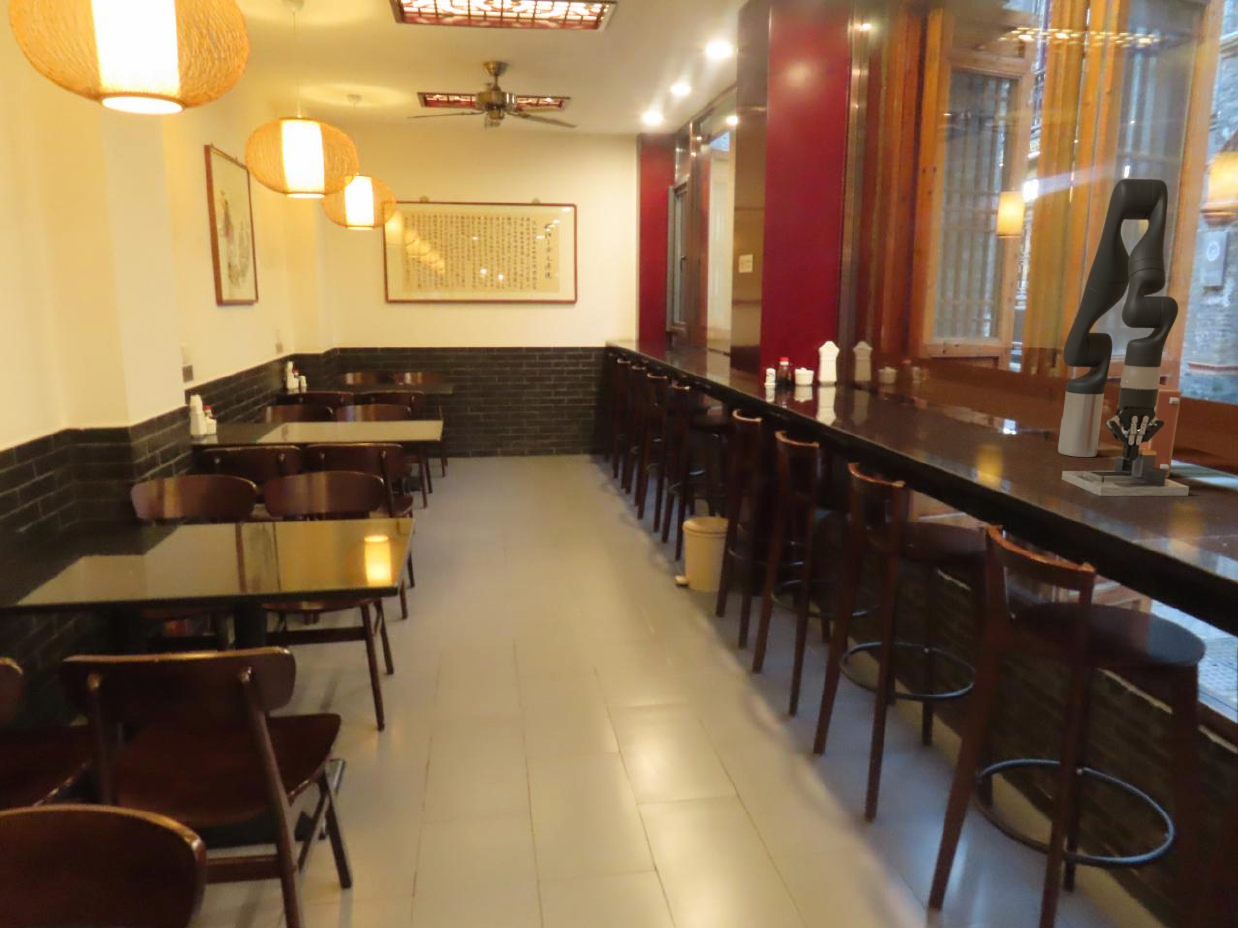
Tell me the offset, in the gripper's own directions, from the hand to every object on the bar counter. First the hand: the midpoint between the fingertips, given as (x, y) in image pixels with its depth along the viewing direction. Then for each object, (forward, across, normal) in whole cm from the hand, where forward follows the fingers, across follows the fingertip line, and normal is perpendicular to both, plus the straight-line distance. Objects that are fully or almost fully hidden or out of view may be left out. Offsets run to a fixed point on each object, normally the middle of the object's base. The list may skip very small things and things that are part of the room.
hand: (1129, 459), depth 196 cm
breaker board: (+6, +1, 0) cm, 7 cm away
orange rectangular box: (+7, -15, -16) cm, 23 cm away
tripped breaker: (+4, -4, 0) cm, 5 cm away
